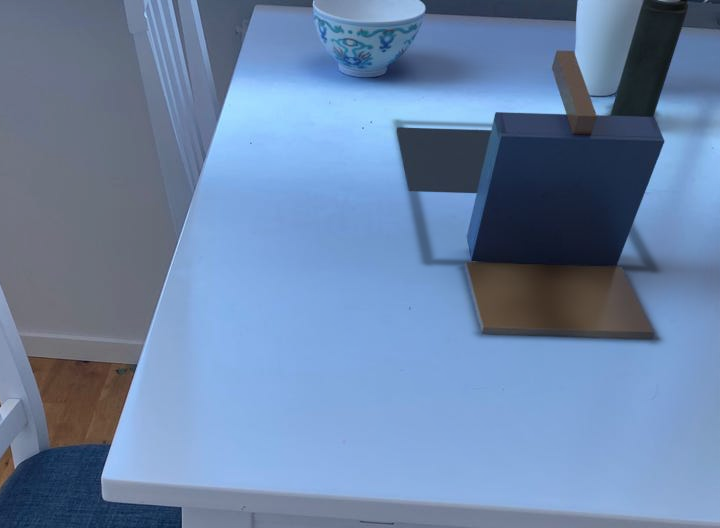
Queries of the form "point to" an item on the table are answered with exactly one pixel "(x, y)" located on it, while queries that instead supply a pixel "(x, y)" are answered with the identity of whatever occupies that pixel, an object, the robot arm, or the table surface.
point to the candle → (649, 57)
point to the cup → (604, 41)
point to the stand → (555, 301)
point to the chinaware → (367, 32)
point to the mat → (443, 158)
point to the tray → (562, 180)
